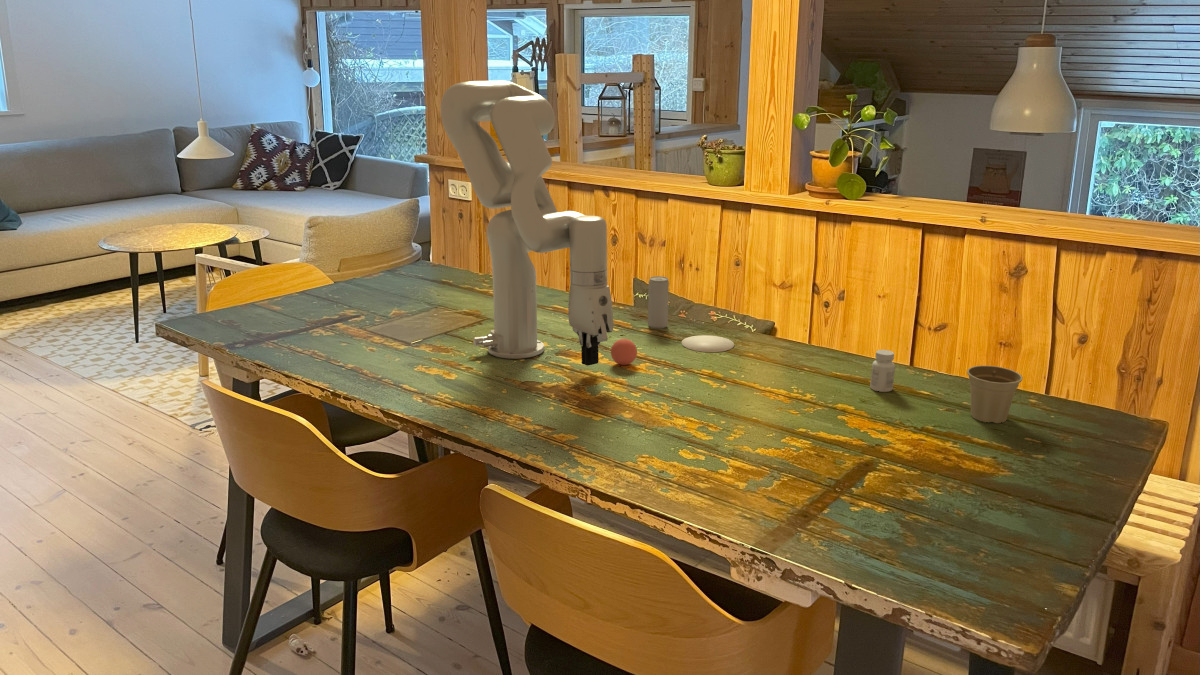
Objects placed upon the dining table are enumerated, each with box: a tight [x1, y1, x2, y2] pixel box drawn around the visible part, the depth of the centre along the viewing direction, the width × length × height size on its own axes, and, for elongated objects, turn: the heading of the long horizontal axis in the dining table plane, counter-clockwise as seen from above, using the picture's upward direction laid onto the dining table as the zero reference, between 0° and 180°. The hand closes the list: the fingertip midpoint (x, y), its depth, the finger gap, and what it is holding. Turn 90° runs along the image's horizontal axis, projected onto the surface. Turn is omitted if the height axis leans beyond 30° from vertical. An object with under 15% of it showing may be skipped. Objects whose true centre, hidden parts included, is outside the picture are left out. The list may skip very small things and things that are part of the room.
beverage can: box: [647, 275, 670, 330], centre depth 224 cm, size 5×5×12 cm
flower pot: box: [966, 365, 1024, 424], centre depth 171 cm, size 9×9×9 cm
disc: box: [681, 335, 735, 353], centre depth 213 cm, size 12×12×1 cm
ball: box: [610, 338, 638, 366], centre depth 198 cm, size 6×6×6 cm
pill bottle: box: [869, 349, 896, 393], centre depth 185 cm, size 4×4×8 cm
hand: (590, 363), depth 193 cm, fingers closed
